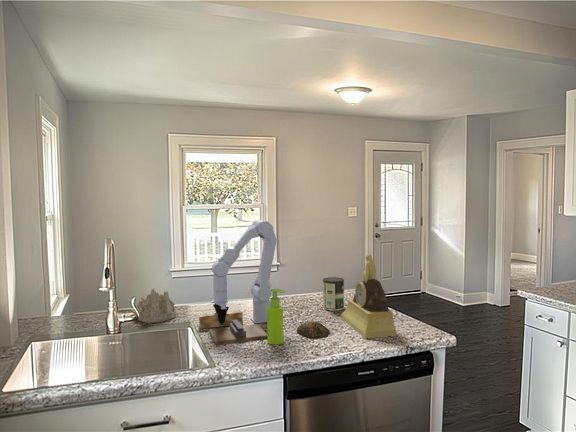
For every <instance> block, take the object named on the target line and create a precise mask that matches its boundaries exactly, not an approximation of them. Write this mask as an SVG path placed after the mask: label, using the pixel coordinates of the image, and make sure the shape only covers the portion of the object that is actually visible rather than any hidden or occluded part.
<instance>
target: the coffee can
mask: <svg viewBox="0 0 576 432" xmlns="http://www.w3.org/2000/svg"><path fill="white" fill-rule="evenodd" d="M322 295H323V297H322V304H323V306H322V307H323V310H326V311H330V312H331V311H342V310H344V309H345V279H344V278H342V277H339V276H338V277H336V276H333V277H332V276H331V277H330V276H329V277H324V278H322Z"/></svg>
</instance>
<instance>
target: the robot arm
mask: <svg viewBox="0 0 576 432" xmlns="http://www.w3.org/2000/svg"><path fill="white" fill-rule="evenodd" d="M258 237H259V238H260V239H261V241H263V245H262V252H261V257H260V262H259V267H258V273H257V277H256V278H255V280H254V283H253V286H252V287H251V290H250V291H251V295H252V296H253V298H252V317H250V319H251V321H252V322H253V323H254V324H261V323H267V307H269V306H271V305H270V298H272V296H271V295H272V291H270V290H271V286H272V285H271V282H270V278H271V277H270V276H271V272H272V267H273V262H274V256H275V252H276V251H275V250H276V246H277V237H276V234H275V230H274V226H273V225H272V224H271V222H269V221H268V220H262V219H256V220H253V222H252V224H250V225H249V226H248V228H247V229H246V230H245V232H244V233H243V234H242V235H241V237H240V238H239V239H238V240H237V242H236V243H235V245H233V246H232V247H229V248H225V250H224V253H223V254H222V255H221V257H220V258H217V261H215V262H214V263H213V264H212V266H211V268H210V269H211V272H212V275H213V278H212V279H213V280H212V281H213V283H212V284H213V285H212V286H213V300H211V301H210V303H211V304H212V306H213V308H214V310H215V313H217V314H218V320H219V323H225V318H226V313H227V312H229V308H230V307H229V306H227V304H228V302H229V299H228V278H227V277H228V276H227V275H228V273H229V269H230V268H231V267H232V266H233V265H234V264H235V262H236V261H237V260H238V259H239V257H240V253H241V251H242V250H243V248H244V247H246V245H248V243H249V242H250V241H251V240H252V239H255V238H258Z"/></svg>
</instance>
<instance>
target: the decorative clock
mask: <svg viewBox="0 0 576 432" xmlns="http://www.w3.org/2000/svg"><path fill="white" fill-rule="evenodd" d="M365 260H366V263H365V268H364V269H365V270H364V271H363V272H362V279H363V280H362V281H359V282H357V283H356V285H355V290H354V291H355V292H354V295H353V299H347V307H346V309H345V310H344V311H342V313H340V319H341V320H343V321H344V322H345V323H346V324H347V325H348V326H349V327H351V329H353V330H354V331H355V332H357V333H358V335H360V336H362V337H363V339H365V338H368V339H377V338H376V337H379V338H388V337H387V336H391V337H397V331H396V326H395V322H394V313H393V311H392V310H391V309H389V306H388V305H389V304H388V300H387V296H386V292H385V290H384V288H383V286H382V284H381V282H380V281H379V280H378V279H376V264H375V262H374V260H373V258H372V255H371V254H366V255H365Z"/></svg>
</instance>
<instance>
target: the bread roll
mask: <svg viewBox="0 0 576 432" xmlns="http://www.w3.org/2000/svg"><path fill="white" fill-rule="evenodd" d="M296 332H297V333H298V334H299V335H301V336H303V337H306V338H309V339H315V338H319V337H321V338H326V337H328V336H329V334H330V333H331V330H330V329H329V328H327V327H326V326H324V324H323V323H321V322H318V321H313V320H311V321H306V322H303V323H300V325H298V326H297V328H296Z"/></svg>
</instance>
